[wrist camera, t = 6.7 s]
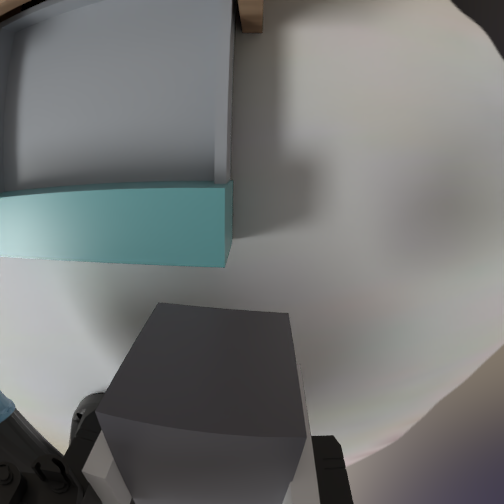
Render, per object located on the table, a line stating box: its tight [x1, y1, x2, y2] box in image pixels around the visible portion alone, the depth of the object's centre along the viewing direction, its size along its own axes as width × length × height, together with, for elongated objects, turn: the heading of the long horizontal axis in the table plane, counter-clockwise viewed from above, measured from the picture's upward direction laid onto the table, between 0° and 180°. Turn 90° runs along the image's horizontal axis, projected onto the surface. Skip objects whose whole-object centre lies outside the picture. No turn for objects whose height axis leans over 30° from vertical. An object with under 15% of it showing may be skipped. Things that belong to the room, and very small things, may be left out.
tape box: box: [95, 303, 307, 504], centre depth 10 cm, size 7×5×6 cm
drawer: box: [0, 0, 236, 268], centre depth 20 cm, size 23×24×6 cm
